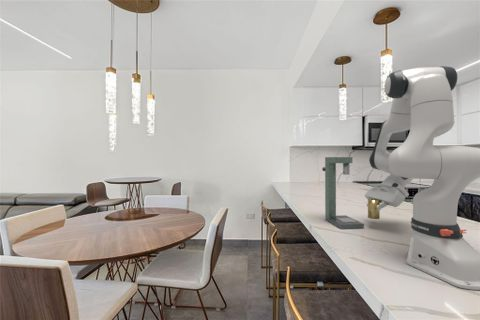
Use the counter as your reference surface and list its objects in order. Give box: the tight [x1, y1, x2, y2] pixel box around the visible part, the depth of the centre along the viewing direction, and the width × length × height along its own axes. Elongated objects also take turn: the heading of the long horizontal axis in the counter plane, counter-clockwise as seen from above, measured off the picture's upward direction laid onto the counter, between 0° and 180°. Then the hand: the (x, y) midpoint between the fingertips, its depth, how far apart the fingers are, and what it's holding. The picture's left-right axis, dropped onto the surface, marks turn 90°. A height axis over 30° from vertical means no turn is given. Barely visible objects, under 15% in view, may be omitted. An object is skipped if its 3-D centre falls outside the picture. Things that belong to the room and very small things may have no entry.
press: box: [321, 156, 365, 230], centre depth 121 cm, size 22×12×35 cm, turn 5°
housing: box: [367, 199, 381, 220], centre depth 111 cm, size 5×5×9 cm
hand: (372, 207), depth 111 cm, fingers closed on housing, 5 cm apart
